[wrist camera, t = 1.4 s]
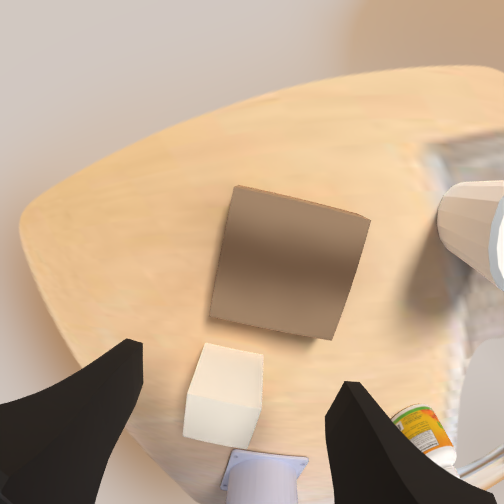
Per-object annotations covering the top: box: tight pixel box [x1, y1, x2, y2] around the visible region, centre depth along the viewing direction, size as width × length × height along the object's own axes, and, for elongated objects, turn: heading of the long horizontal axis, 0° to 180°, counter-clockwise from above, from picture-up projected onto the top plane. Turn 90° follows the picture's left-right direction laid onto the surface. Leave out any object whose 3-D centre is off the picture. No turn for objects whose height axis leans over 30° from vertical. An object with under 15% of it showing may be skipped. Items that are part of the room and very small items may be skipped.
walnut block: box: [209, 185, 371, 341], centre depth 19 cm, size 8×8×3 cm
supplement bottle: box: [391, 404, 460, 479], centre depth 19 cm, size 5×5×10 cm
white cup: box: [437, 180, 504, 291], centre depth 15 cm, size 7×7×7 cm
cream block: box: [183, 343, 264, 449], centre depth 19 cm, size 4×4×6 cm
